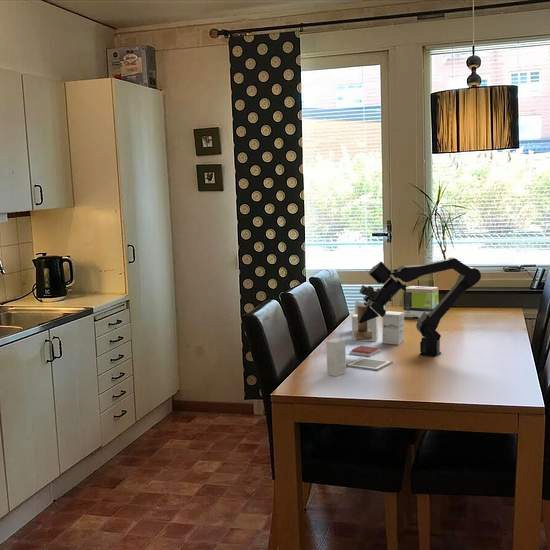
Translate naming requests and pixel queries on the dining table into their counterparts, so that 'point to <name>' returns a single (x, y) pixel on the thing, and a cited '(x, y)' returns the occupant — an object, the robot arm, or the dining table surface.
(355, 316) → the skincare box
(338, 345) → the skincare box
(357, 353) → the ink pad
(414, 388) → the dining table surface
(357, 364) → the marked board
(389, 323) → the supplement box
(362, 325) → the walnut stamp
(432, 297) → the tea box
